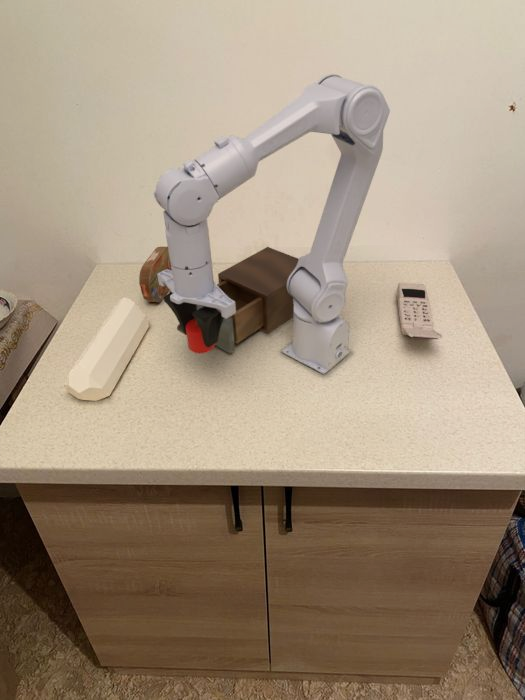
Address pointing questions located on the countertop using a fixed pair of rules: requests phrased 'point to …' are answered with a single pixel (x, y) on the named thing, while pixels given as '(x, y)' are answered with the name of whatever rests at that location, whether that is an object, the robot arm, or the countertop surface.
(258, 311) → the drawer
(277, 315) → the cabinet
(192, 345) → the pepper
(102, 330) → the crystal
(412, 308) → the mobile phone
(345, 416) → the countertop surface
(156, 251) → the tin
